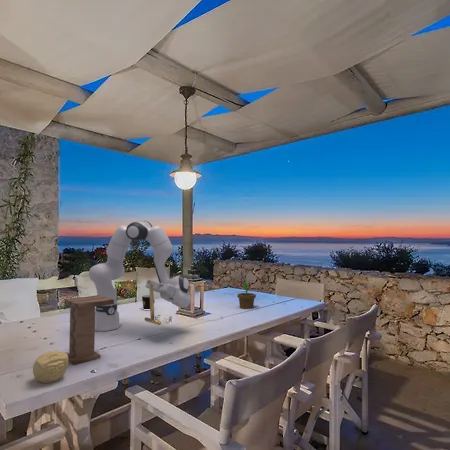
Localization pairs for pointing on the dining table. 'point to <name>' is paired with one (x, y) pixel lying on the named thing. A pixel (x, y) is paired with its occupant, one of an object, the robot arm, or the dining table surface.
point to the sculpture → (50, 366)
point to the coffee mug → (146, 301)
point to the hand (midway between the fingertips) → (149, 281)
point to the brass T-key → (152, 307)
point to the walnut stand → (83, 327)
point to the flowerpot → (246, 297)
